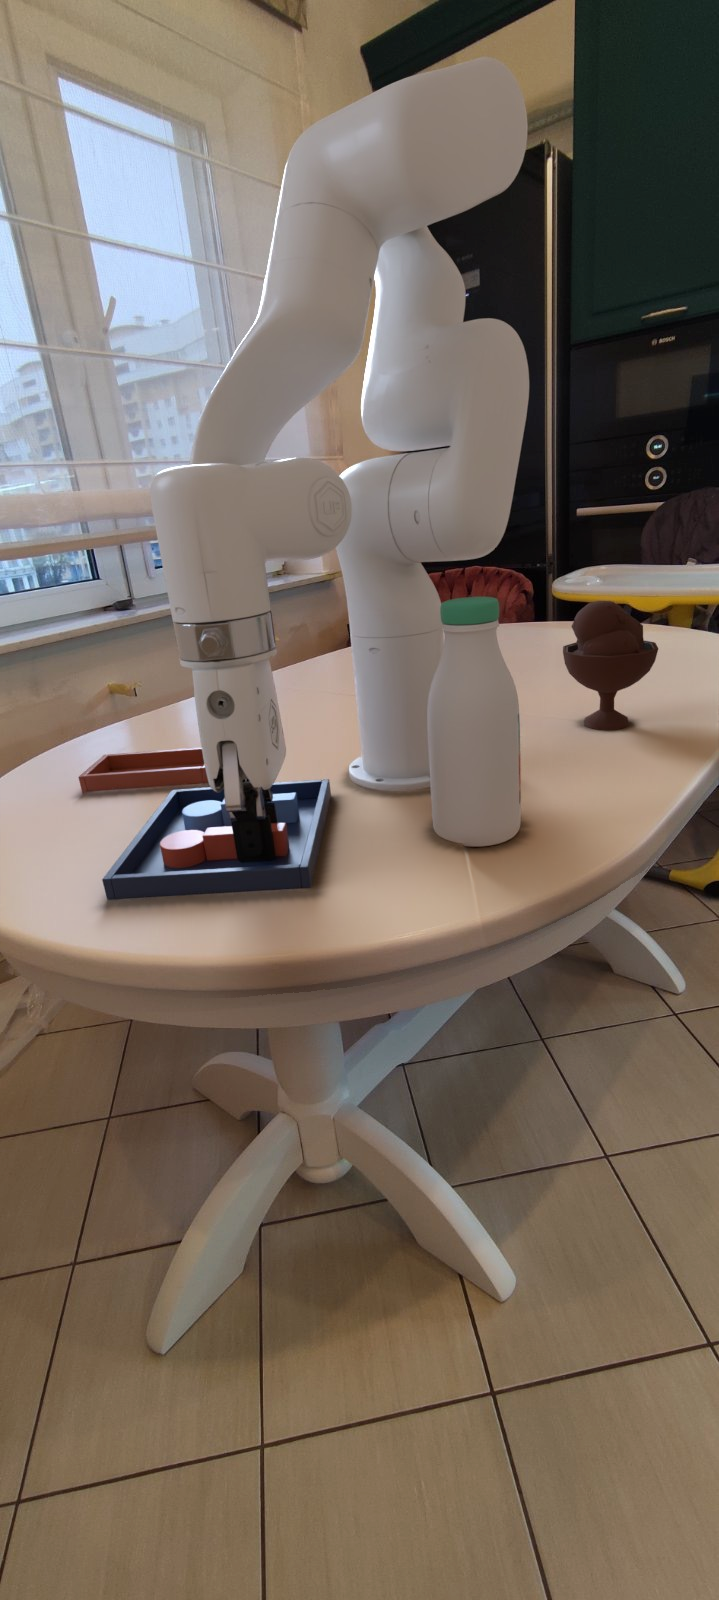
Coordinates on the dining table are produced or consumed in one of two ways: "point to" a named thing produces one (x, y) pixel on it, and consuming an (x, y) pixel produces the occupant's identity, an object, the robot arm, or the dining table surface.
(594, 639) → the ice cream bowl
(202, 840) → the red spoon
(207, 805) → the blue spoon
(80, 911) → the dining table surface
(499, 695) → the milk bottle
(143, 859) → the navy tray
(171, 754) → the terracotta tray
